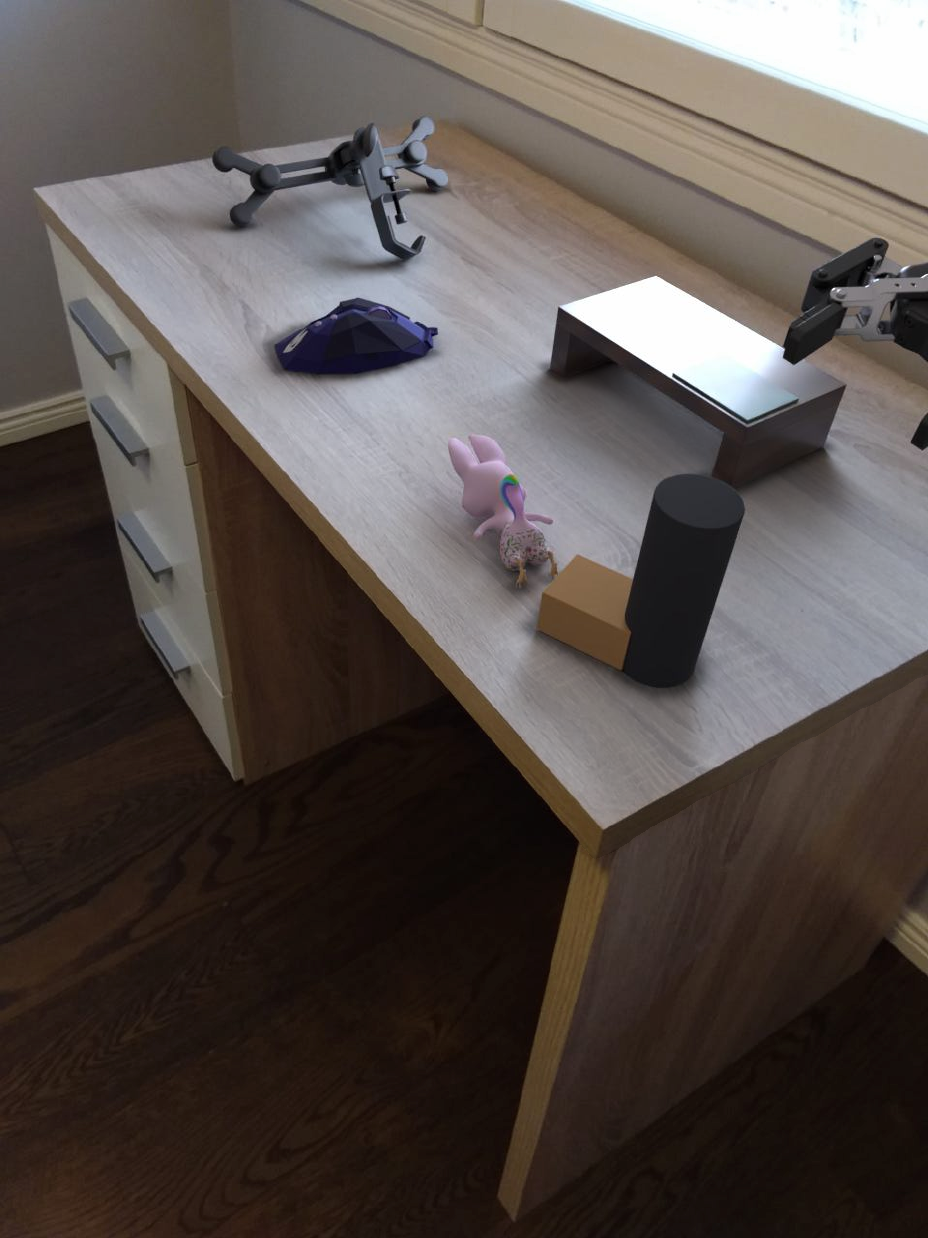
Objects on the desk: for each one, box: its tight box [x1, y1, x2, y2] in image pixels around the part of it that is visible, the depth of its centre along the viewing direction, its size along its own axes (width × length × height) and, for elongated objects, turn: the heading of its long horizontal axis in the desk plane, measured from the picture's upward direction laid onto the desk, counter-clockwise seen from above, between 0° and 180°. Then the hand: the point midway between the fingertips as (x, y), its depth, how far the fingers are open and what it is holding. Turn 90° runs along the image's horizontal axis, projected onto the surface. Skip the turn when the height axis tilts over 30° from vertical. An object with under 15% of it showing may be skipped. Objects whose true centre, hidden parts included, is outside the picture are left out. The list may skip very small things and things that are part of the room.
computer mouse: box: [274, 297, 439, 375], centre depth 92 cm, size 9×15×4 cm, turn 108°
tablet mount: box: [211, 115, 449, 261], centre depth 109 cm, size 27×14×17 cm
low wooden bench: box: [549, 275, 848, 489], centre depth 87 cm, size 22×12×6 cm, turn 37°
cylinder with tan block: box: [536, 473, 746, 688], centre depth 63 cm, size 10×5×13 cm, turn 57°
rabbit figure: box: [447, 434, 559, 588], centre depth 74 cm, size 6×6×15 cm
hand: (854, 390), depth 54 cm, fingers open, 8 cm apart
